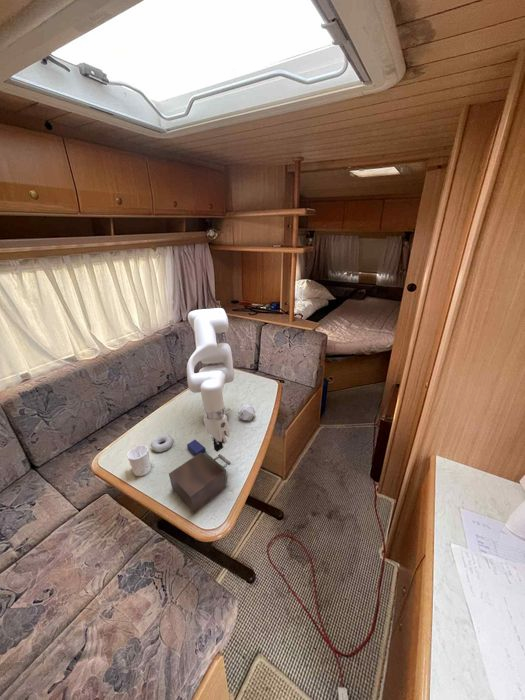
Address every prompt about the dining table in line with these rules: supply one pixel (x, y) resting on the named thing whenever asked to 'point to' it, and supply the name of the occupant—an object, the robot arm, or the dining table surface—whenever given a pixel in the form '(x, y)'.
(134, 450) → the white cup
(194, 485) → the cabinet
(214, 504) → the dining table surface
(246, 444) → the dining table surface
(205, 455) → the drawer
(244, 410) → the die
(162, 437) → the donut
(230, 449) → the dining table surface
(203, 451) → the tall navy block
